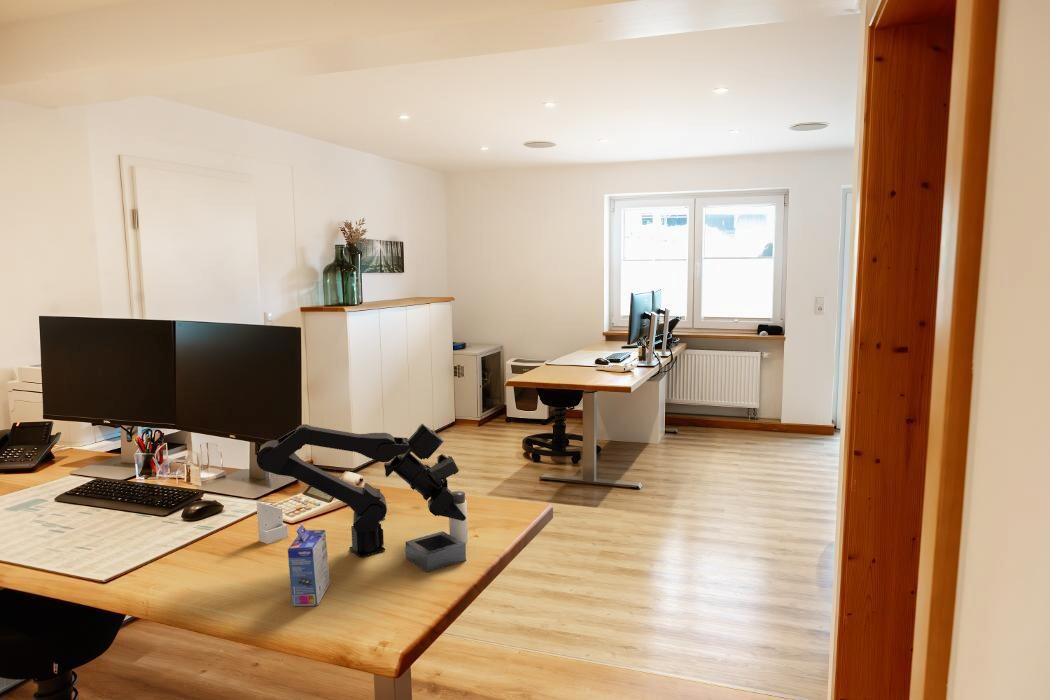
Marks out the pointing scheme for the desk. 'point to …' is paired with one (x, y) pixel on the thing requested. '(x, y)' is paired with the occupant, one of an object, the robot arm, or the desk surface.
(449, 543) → the collar
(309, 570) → the ink cartridge box
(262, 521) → the white wall holder
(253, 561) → the desk surface
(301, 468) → the robot arm
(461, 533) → the white bottle
